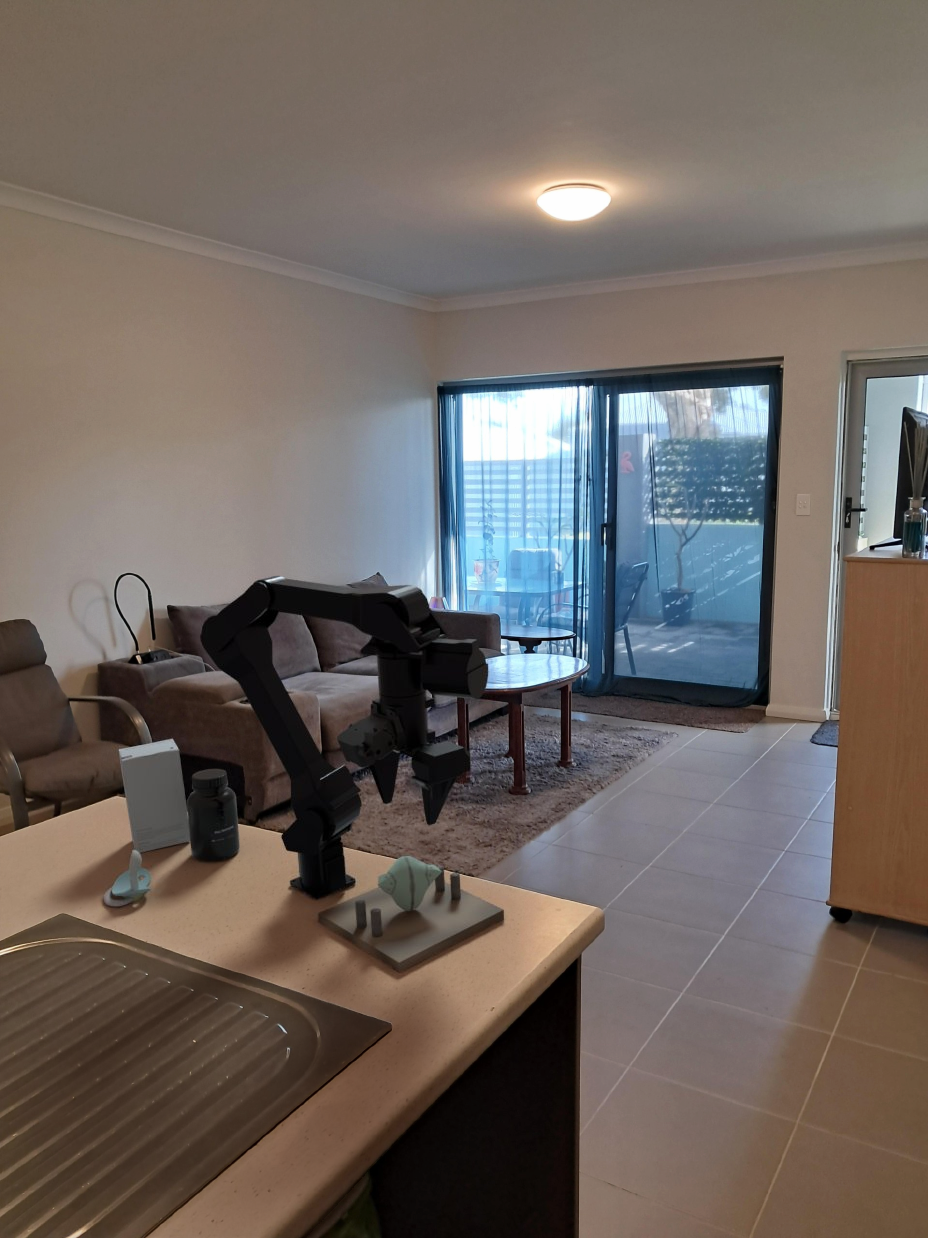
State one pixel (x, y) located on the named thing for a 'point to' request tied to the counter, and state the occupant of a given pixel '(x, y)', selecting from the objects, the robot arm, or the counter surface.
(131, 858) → the pacifier
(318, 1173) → the counter surface
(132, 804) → the skincare box
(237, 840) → the supplement bottle
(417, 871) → the grey-green curved shell
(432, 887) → the pin tray
